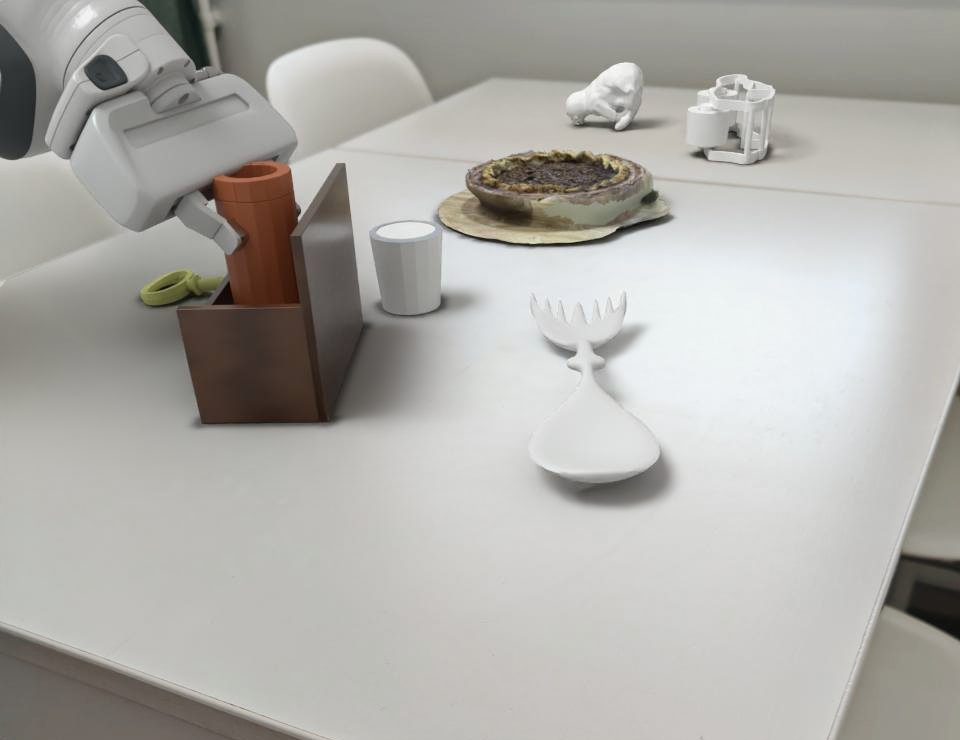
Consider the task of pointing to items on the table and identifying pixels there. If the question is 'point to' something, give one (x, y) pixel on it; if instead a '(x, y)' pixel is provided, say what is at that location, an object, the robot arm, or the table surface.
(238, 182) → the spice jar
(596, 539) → the table surface
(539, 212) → the pie
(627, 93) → the white animal figurine
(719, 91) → the white strut cage
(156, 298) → the key
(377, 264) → the white cup
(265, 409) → the box
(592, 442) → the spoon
